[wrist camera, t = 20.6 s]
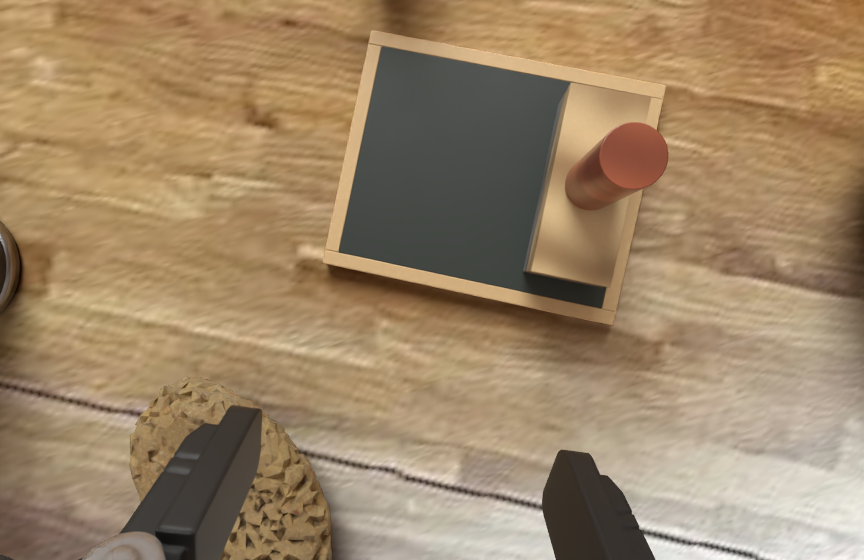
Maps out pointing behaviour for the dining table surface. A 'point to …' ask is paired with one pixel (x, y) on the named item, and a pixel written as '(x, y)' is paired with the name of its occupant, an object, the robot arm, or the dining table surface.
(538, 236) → the eraser
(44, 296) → the dining table surface
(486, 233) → the board
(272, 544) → the sponge
